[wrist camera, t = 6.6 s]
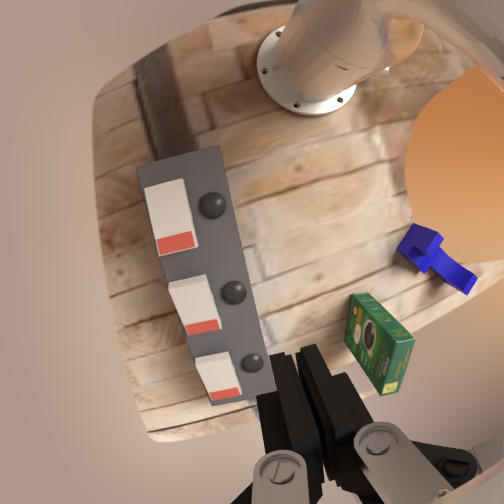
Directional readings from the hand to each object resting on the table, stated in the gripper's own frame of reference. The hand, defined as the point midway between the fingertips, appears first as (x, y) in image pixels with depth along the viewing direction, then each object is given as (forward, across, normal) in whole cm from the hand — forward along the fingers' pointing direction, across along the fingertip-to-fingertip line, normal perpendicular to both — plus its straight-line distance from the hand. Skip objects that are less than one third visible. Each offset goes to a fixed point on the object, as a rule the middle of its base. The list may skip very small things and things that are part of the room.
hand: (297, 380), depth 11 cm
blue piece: (+29, -26, +11) cm, 40 cm away
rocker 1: (+24, +7, -3) cm, 25 cm away
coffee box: (+28, -13, +16) cm, 35 cm away
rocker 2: (+24, +7, +6) cm, 25 cm away
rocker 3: (+23, +7, +16) cm, 29 cm away
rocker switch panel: (+28, +5, +6) cm, 29 cm away
